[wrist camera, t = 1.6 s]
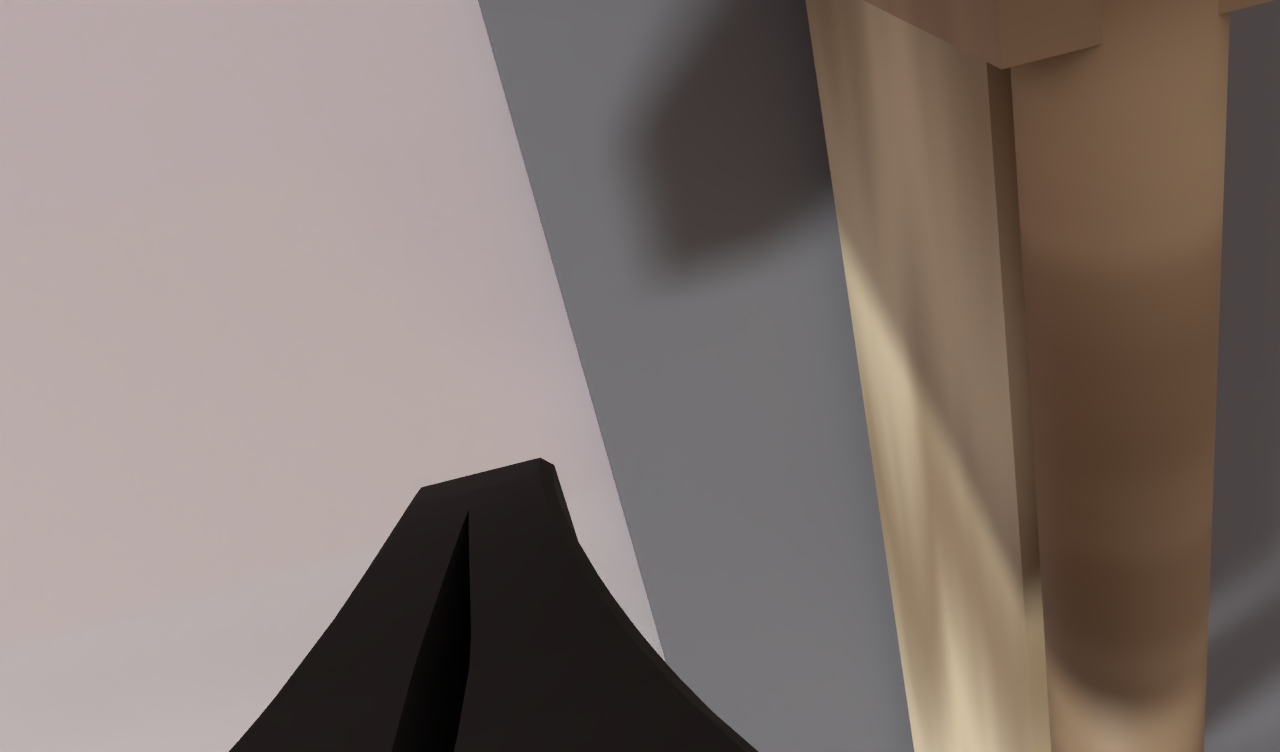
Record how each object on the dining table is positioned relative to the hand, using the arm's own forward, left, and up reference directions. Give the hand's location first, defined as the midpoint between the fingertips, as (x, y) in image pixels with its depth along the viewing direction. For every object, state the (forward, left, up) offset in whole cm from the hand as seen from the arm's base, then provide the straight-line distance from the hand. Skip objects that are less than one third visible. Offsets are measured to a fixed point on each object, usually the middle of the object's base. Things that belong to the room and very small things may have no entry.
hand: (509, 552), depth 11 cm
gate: (-2, -5, -3) cm, 6 cm away
